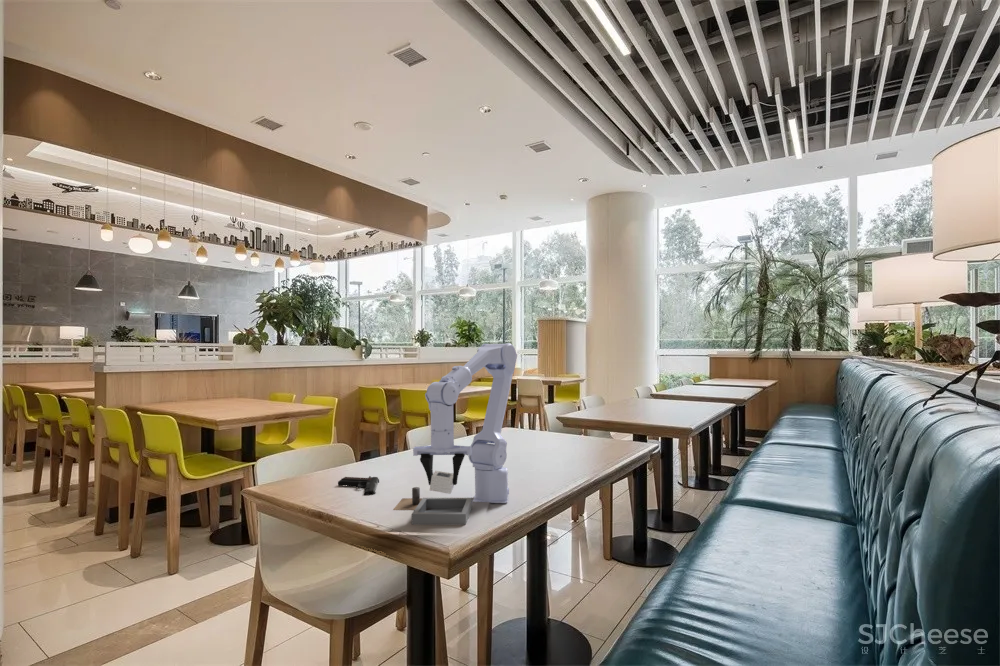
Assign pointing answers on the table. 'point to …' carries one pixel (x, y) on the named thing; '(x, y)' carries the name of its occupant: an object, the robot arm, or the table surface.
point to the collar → (442, 482)
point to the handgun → (361, 483)
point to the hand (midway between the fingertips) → (442, 484)
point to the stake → (410, 501)
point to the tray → (442, 511)
